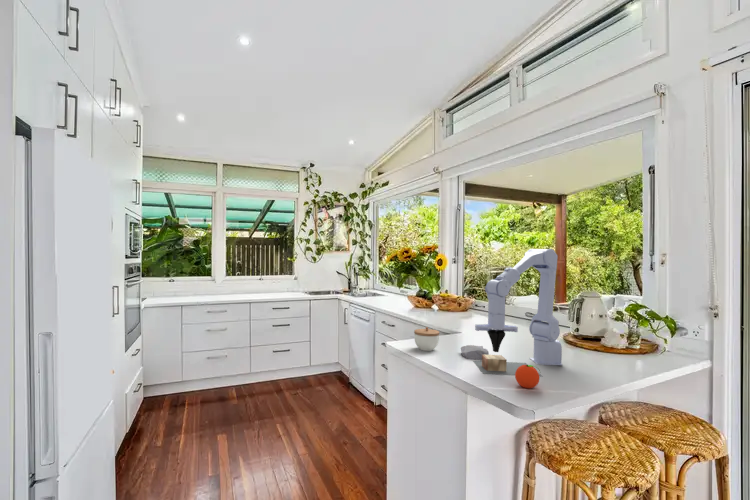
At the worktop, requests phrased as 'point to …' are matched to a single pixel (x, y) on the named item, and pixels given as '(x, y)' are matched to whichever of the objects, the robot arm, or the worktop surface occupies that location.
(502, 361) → the maple block
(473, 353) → the stone block
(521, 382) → the clementine
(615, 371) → the worktop surface
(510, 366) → the slate mat
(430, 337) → the lidded jar
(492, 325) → the robot arm
